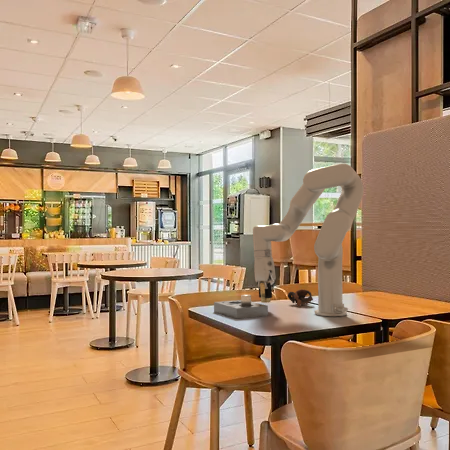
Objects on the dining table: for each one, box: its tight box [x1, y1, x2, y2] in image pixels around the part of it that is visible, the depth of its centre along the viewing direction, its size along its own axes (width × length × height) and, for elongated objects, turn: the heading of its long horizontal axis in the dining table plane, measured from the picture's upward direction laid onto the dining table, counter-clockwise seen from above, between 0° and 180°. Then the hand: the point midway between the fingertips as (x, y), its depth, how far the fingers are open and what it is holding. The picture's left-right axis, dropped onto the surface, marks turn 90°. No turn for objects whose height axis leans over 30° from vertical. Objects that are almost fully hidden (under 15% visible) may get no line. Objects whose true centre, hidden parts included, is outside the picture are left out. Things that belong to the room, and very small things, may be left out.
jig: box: [213, 294, 269, 320], centre depth 192 cm, size 20×14×8 cm
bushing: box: [260, 283, 271, 304], centre depth 199 cm, size 4×4×8 cm
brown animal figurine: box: [287, 288, 314, 307], centre depth 215 cm, size 12×10×8 cm
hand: (265, 297), depth 199 cm, fingers closed on bushing, 4 cm apart
